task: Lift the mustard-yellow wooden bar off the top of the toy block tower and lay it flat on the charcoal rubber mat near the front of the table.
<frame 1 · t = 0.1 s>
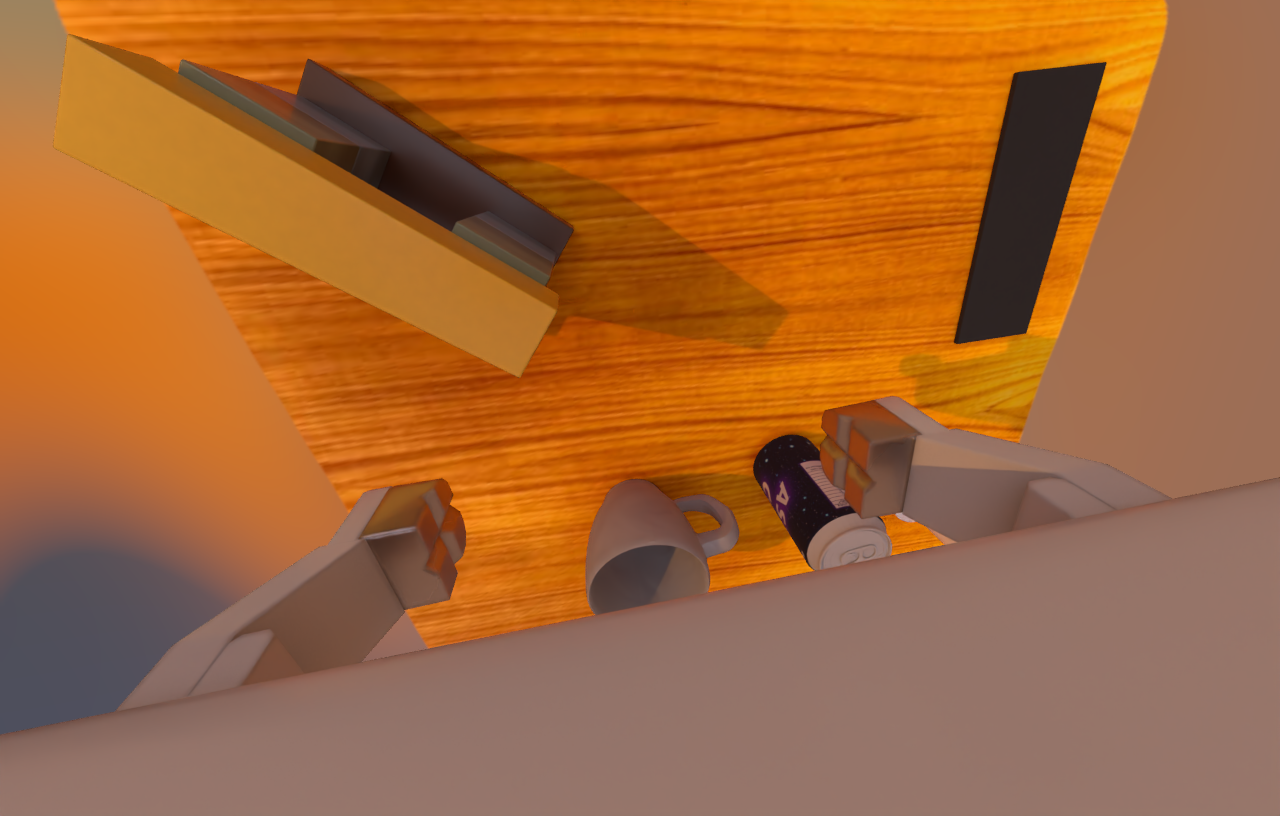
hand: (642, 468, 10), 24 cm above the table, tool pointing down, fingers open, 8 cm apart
beverage can: (779, 456, 40), on the table
bar: (371, 232, 19), point 10 cm above the table, touching tower
mug: (650, 496, 40), on the table
mat: (1018, 219, 33), on the table
tower: (435, 216, 28), on the table
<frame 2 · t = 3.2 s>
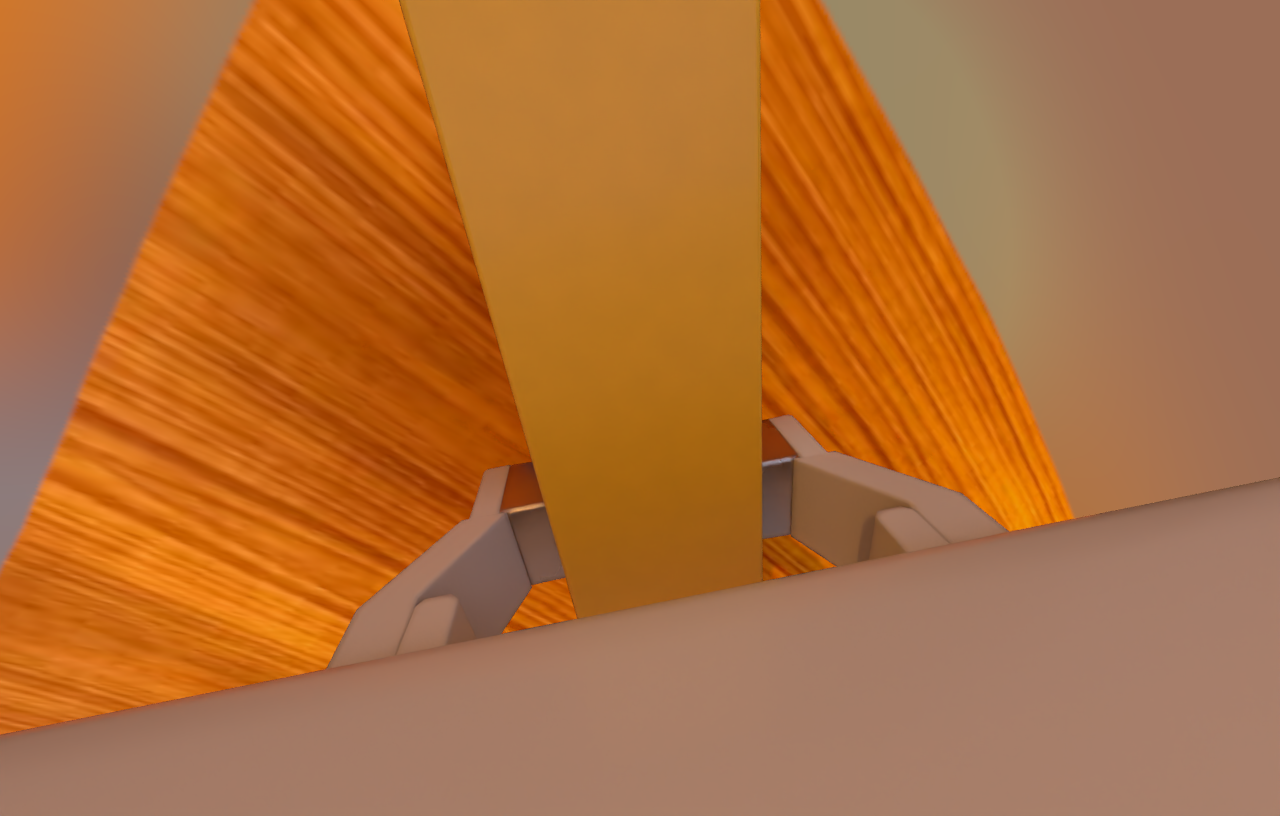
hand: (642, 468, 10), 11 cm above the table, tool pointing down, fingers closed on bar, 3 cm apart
bar: (640, 453, 10), point 10 cm above the table, touching gripper, tower
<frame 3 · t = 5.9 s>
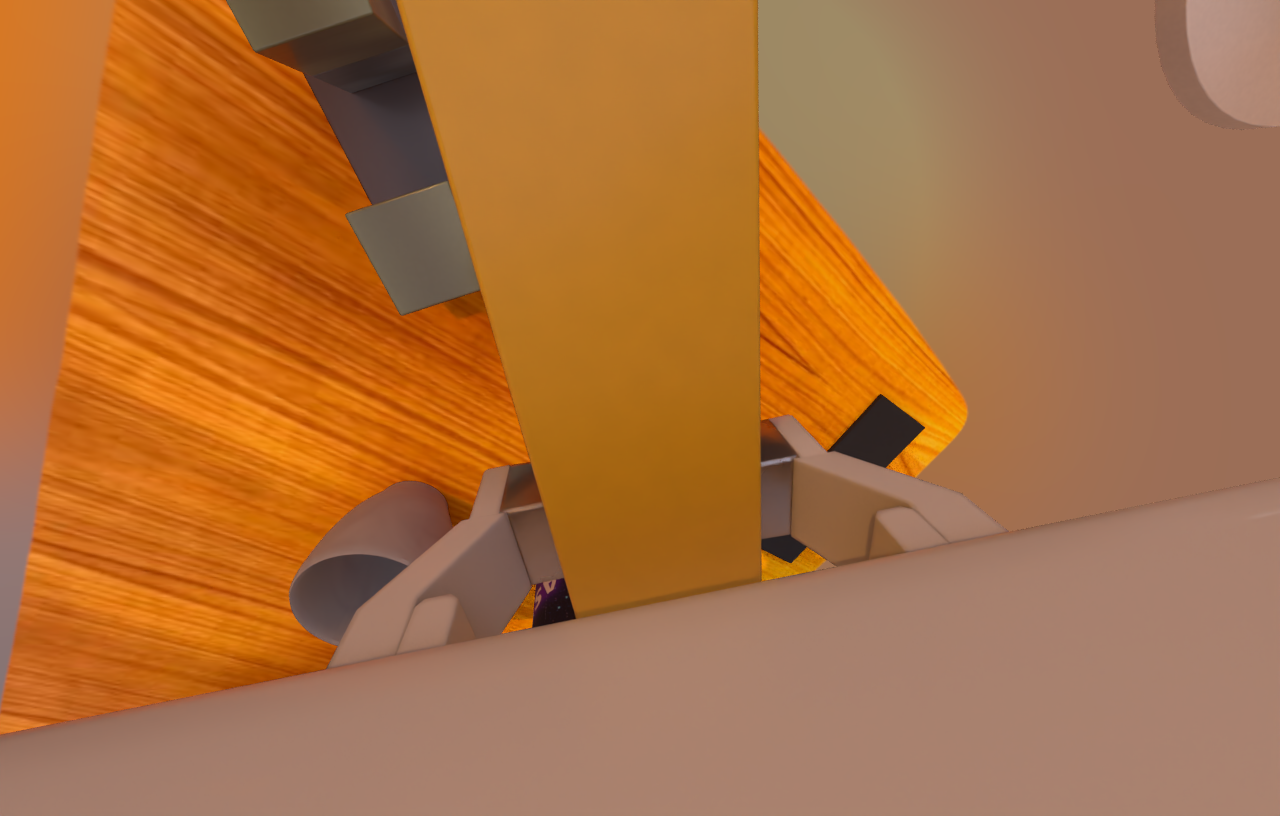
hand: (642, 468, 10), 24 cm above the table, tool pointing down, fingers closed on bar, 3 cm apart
beverage can: (571, 545, 41), on the table
bar: (639, 453, 10), point 23 cm above the table, touching gripper
mug: (434, 510, 37), on the table
mat: (830, 484, 42), on the table
tower: (429, 143, 26), on the table
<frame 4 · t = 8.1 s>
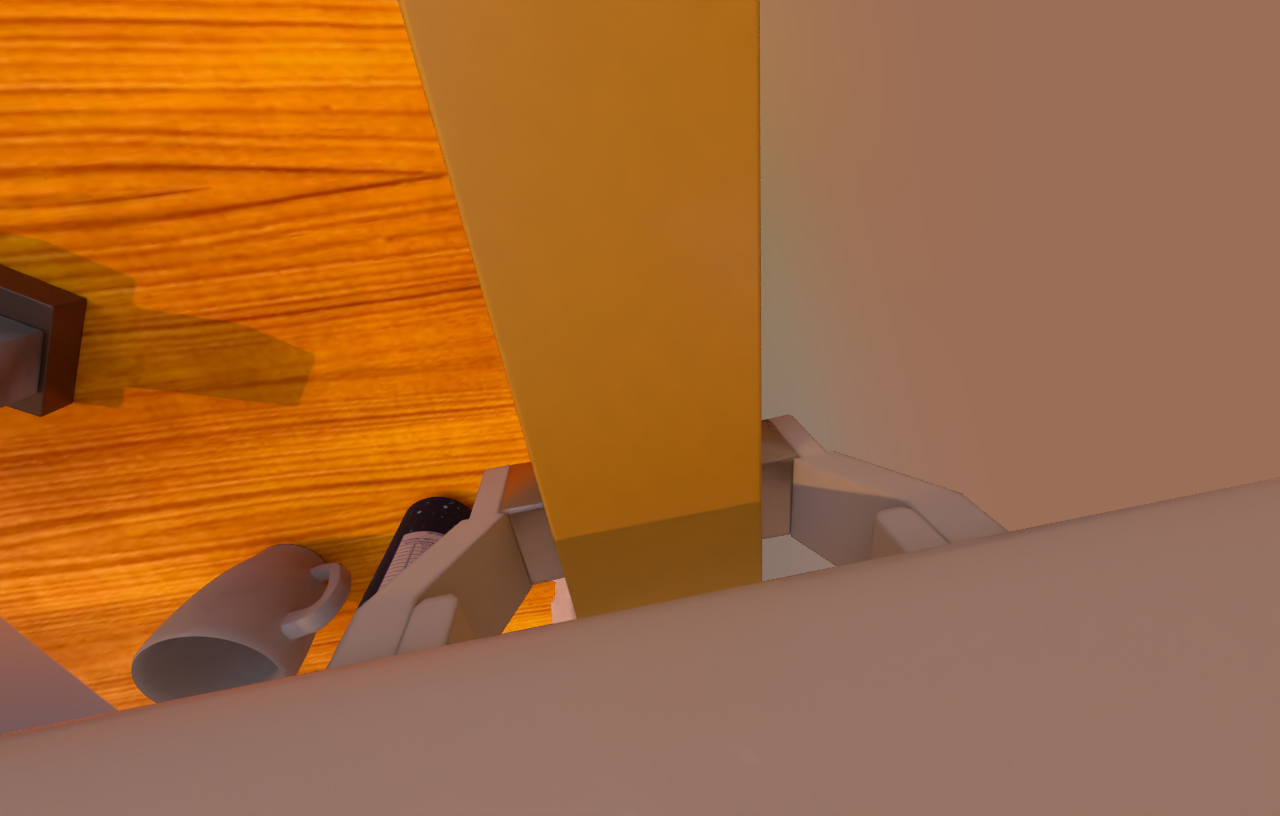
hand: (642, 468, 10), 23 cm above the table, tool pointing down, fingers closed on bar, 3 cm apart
candle: (573, 521, 40), on the table
beverage can: (444, 515, 38), on the table
bar: (640, 455, 10), point 23 cm above the table, touching gripper
mug: (310, 559, 38), on the table
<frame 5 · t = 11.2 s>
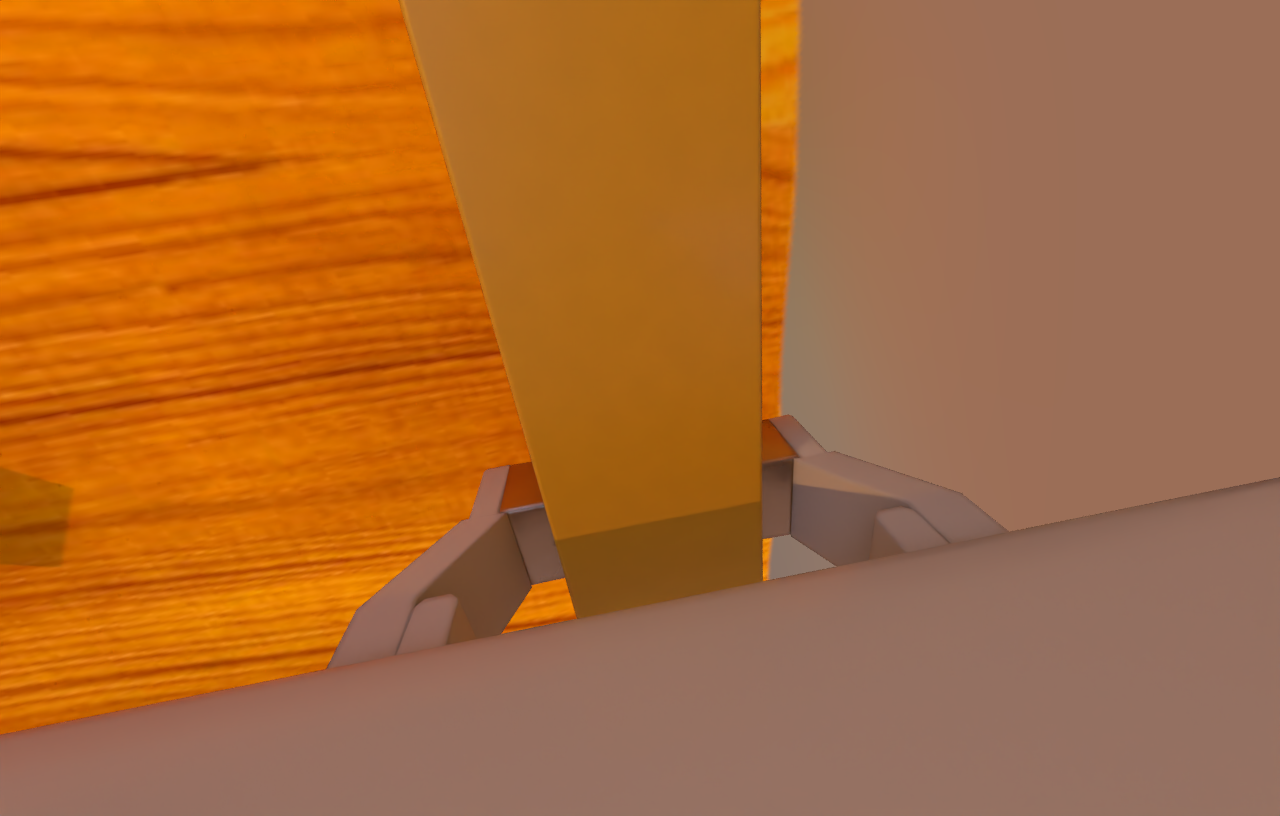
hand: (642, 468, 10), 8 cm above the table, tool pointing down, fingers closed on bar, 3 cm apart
bar: (641, 455, 10), point 8 cm above the table, touching gripper
when the fingers open (1 cm above the table, at t = 13.3 s): bar stays where it is, resting on mat.
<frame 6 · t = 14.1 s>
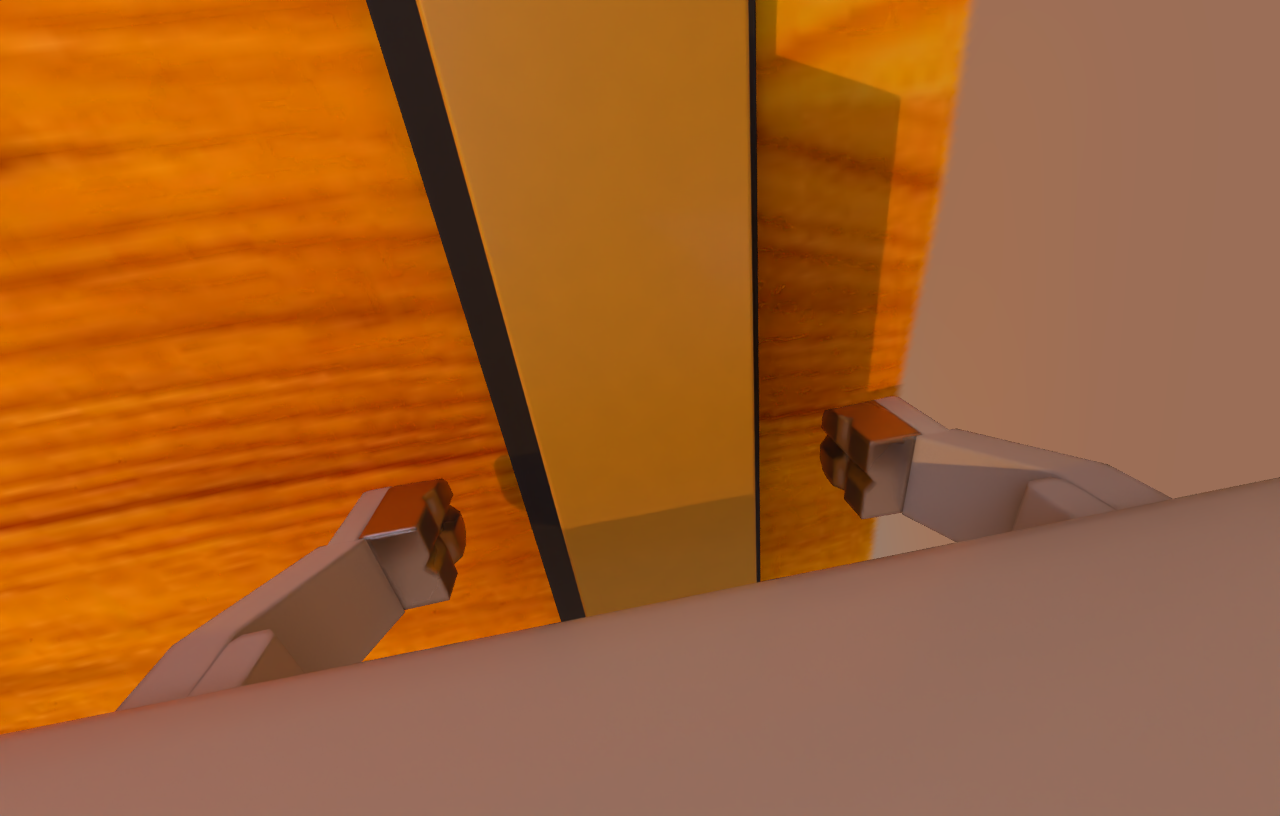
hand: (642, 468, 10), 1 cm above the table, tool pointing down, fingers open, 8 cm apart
bar: (641, 448, 11), resting on mat
mat: (635, 436, 11), on the table
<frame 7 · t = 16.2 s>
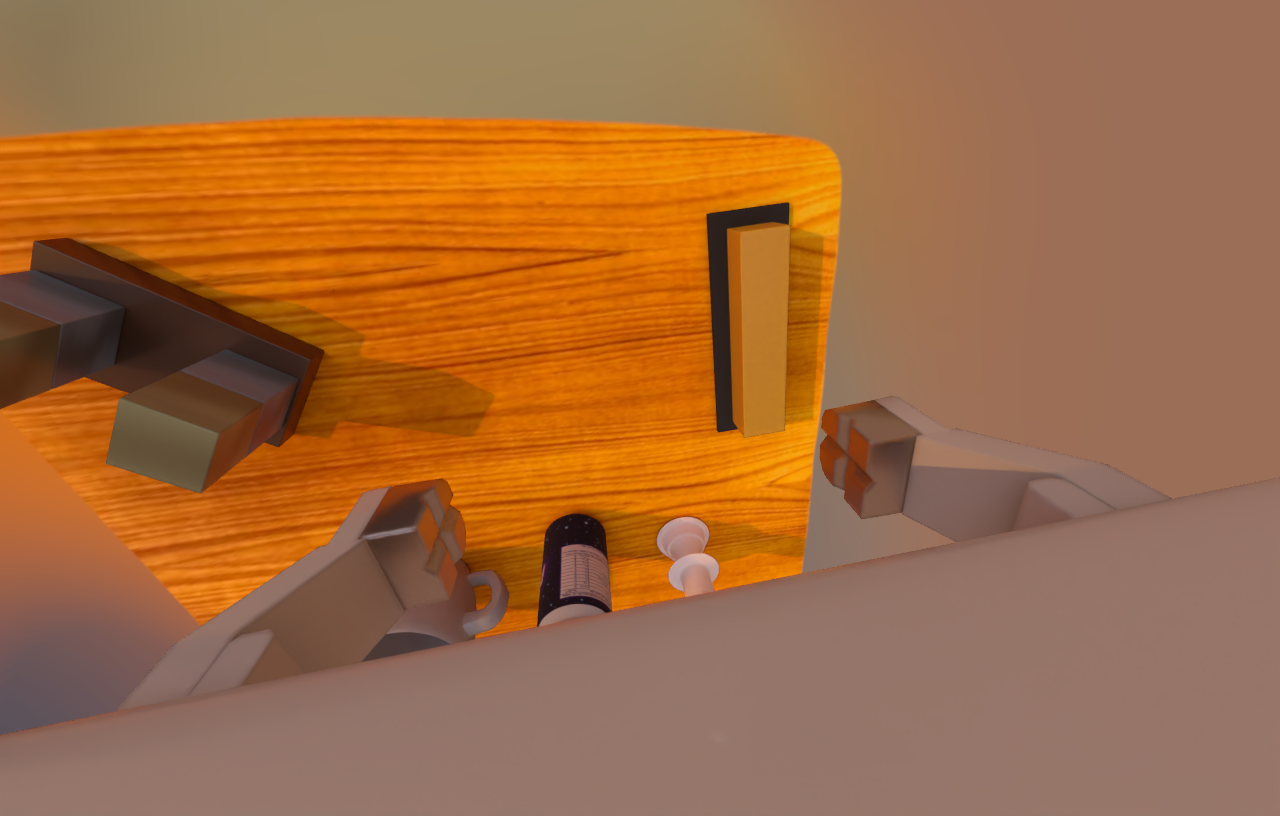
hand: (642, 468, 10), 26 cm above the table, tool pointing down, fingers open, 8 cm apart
candle: (682, 535, 45), on the table
beverage can: (575, 529, 43), on the table
bar: (751, 331, 36), resting on mat
mug: (457, 567, 44), on the table
mat: (748, 328, 36), on the table
tower: (193, 347, 32), on the table
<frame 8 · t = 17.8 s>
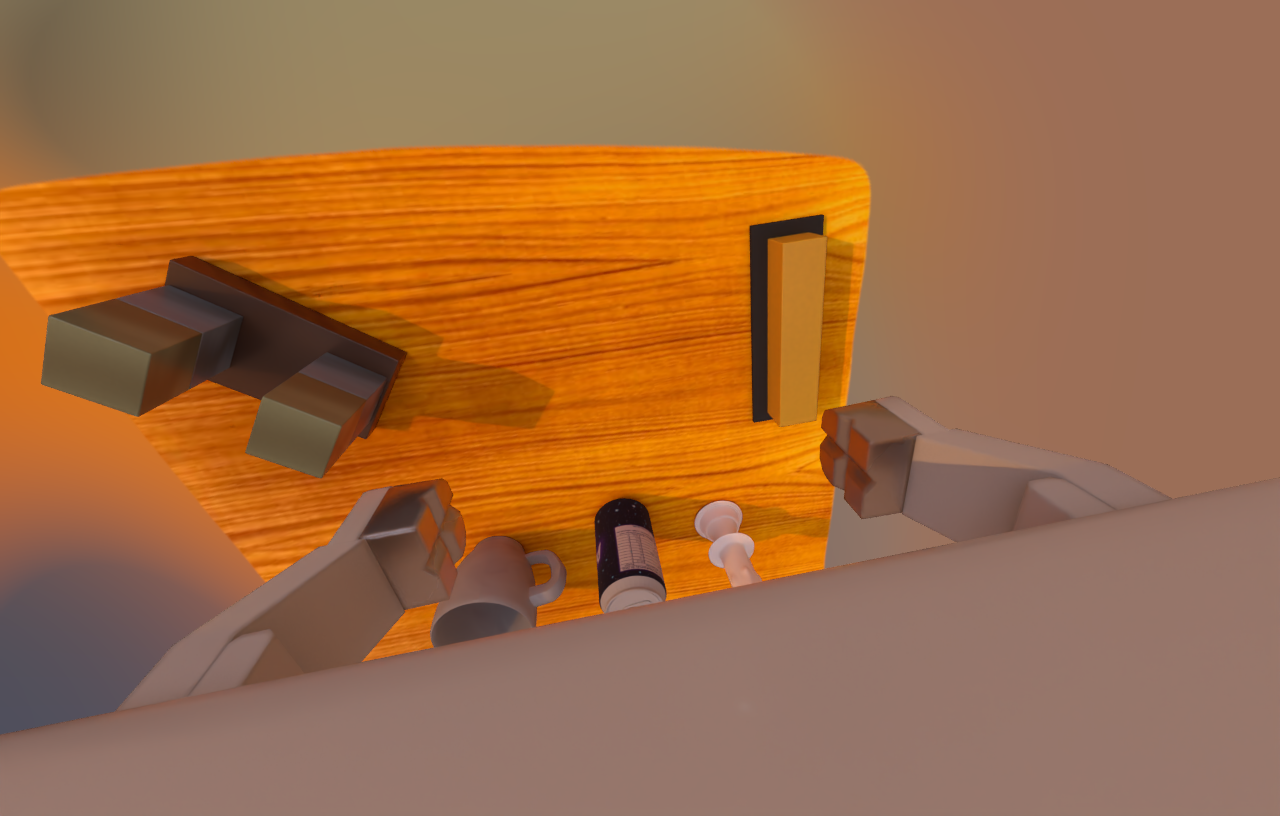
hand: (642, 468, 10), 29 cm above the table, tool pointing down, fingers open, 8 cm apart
candle: (717, 518, 49), on the table
beverage can: (621, 513, 47), on the table
bar: (786, 330, 40), resting on mat
mug: (513, 548, 48), on the table
mat: (783, 327, 40), on the table
tower: (293, 350, 36), on the table
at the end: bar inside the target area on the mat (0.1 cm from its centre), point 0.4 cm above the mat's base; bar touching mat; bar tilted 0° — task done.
